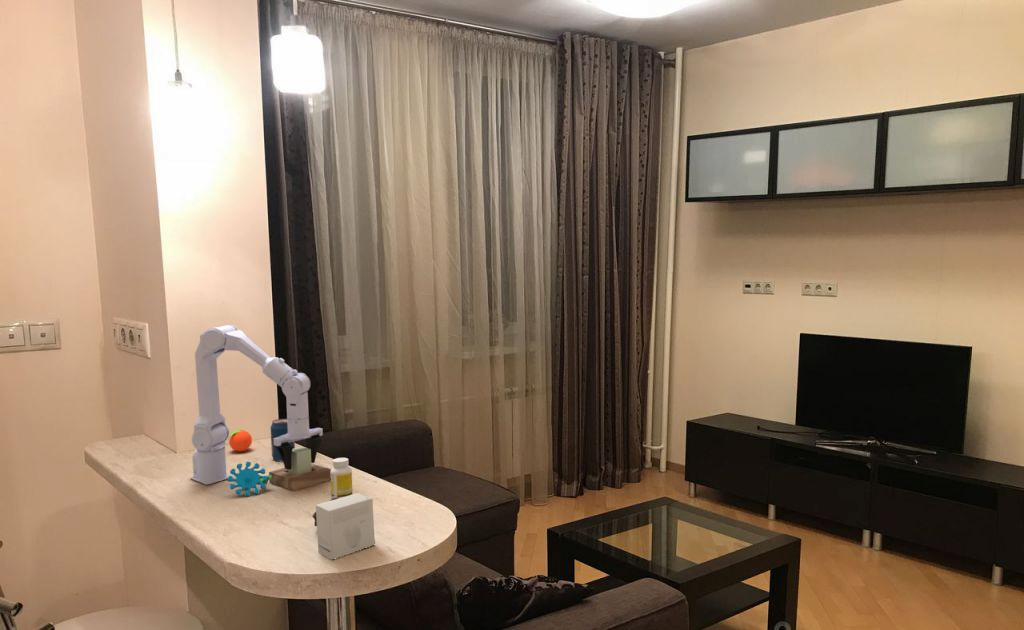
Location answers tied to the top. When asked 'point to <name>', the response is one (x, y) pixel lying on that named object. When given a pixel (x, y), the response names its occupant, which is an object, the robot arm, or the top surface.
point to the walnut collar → (300, 477)
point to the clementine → (240, 440)
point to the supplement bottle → (341, 478)
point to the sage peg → (300, 461)
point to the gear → (248, 479)
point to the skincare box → (345, 525)
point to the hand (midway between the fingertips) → (300, 465)
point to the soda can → (277, 430)
